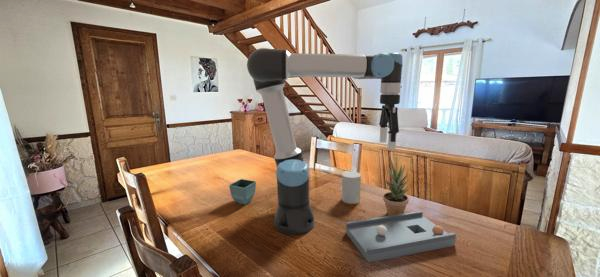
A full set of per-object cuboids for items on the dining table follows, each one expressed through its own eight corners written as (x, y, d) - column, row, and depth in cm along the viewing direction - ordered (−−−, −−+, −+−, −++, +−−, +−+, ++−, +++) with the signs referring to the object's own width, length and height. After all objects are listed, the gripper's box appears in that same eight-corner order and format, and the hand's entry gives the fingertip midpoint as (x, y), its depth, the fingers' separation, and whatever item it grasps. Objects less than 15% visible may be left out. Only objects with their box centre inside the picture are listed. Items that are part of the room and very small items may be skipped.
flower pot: (257, 199, 118) (256, 181, 116) (246, 207, 110) (244, 188, 108) (242, 196, 121) (240, 178, 120) (230, 204, 114) (228, 185, 112)
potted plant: (379, 208, 106) (381, 150, 101) (402, 208, 106) (405, 150, 101) (386, 220, 96) (389, 157, 91) (412, 220, 96) (416, 157, 91)
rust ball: (436, 238, 80) (437, 229, 79) (429, 233, 83) (430, 224, 82) (445, 237, 81) (446, 228, 80) (437, 231, 84) (438, 222, 83)
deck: (368, 262, 74) (368, 250, 73) (345, 232, 89) (345, 222, 88) (454, 245, 80) (455, 234, 80) (420, 220, 96) (420, 210, 95)
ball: (379, 238, 81) (380, 229, 80) (374, 233, 84) (374, 224, 83) (388, 236, 82) (389, 227, 81) (383, 231, 85) (383, 222, 84)
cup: (360, 204, 110) (361, 178, 108) (341, 203, 112) (341, 177, 109) (360, 196, 118) (360, 171, 116) (342, 195, 120) (342, 171, 117)
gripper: (410, 94, 89) (406, 153, 93) (391, 93, 114) (388, 139, 118) (389, 94, 90) (385, 153, 94) (373, 93, 114) (371, 139, 118)
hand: (386, 145), depth 106 cm, fingers open, 13 cm apart
